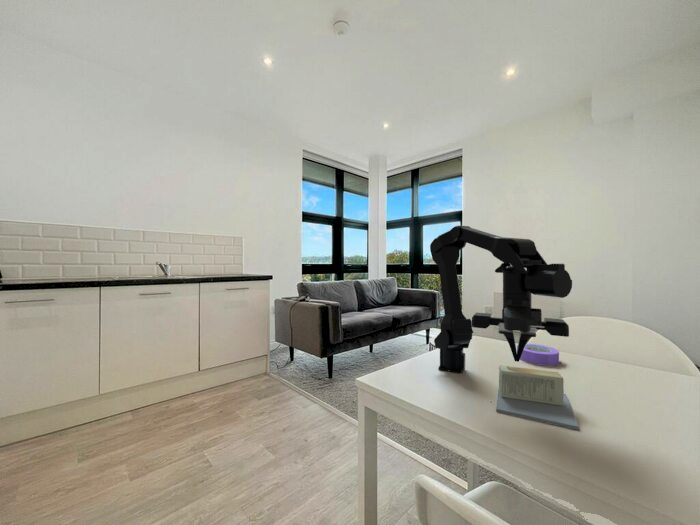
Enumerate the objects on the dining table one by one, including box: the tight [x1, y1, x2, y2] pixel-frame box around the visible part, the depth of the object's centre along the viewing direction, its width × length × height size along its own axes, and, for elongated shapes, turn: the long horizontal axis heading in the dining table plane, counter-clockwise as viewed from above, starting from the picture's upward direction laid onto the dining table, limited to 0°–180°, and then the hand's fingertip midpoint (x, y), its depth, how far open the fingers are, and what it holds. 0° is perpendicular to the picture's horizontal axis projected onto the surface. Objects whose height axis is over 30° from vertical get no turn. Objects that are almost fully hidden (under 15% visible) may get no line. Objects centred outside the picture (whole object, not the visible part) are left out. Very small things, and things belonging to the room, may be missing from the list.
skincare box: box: [498, 364, 565, 406], centre depth 67 cm, size 6×4×12 cm
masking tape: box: [516, 343, 560, 366], centre depth 96 cm, size 12×12×4 cm
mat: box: [495, 389, 580, 431], centre depth 66 cm, size 14×16×1 cm
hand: (516, 361), depth 67 cm, fingers closed
